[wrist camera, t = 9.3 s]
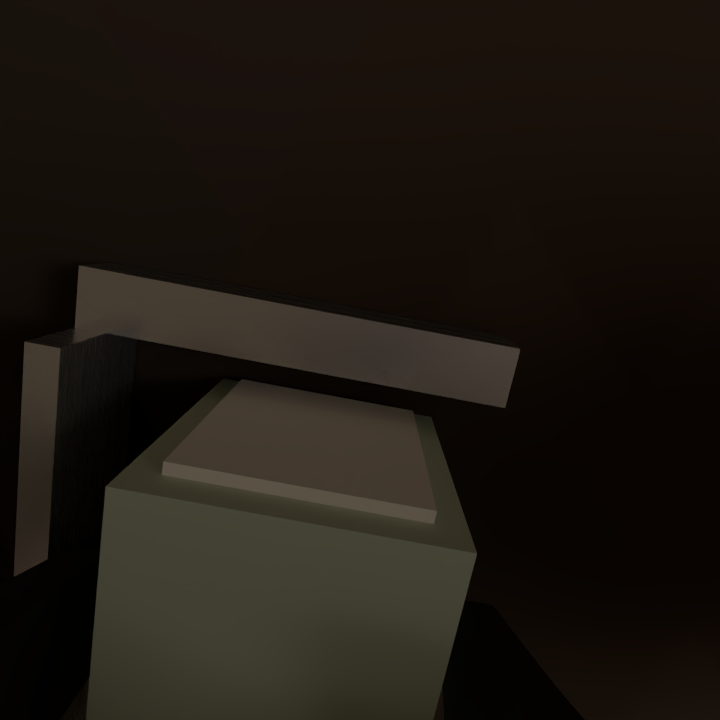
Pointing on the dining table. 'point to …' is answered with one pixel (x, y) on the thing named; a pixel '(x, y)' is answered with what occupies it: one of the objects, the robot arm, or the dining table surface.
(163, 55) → the dining table surface
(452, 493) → the cabinet block
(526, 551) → the dining table surface
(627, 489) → the dining table surface
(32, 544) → the grey l-shaped piece
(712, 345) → the dining table surface
